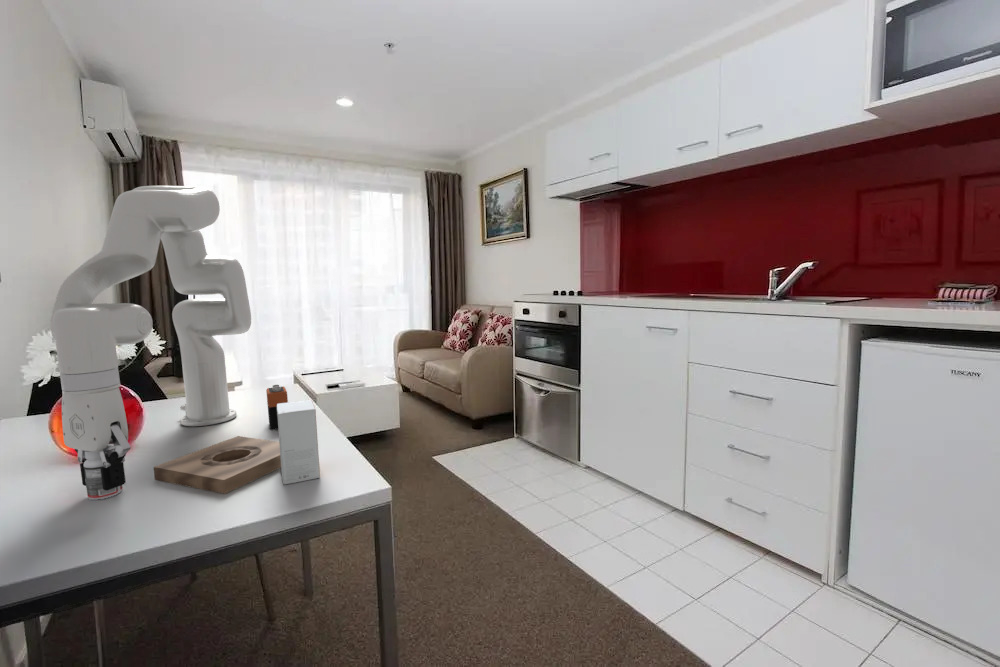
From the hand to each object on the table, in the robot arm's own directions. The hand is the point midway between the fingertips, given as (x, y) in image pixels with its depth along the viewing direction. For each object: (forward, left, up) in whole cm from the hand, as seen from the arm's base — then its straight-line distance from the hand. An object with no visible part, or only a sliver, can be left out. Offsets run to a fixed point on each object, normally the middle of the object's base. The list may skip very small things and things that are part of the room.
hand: (104, 483), depth 84 cm
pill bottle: (0, 0, -2) cm, 2 cm away
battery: (-2, +40, -2) cm, 40 cm away
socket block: (+11, +16, -2) cm, 20 cm away
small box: (+26, +18, -2) cm, 32 cm away
